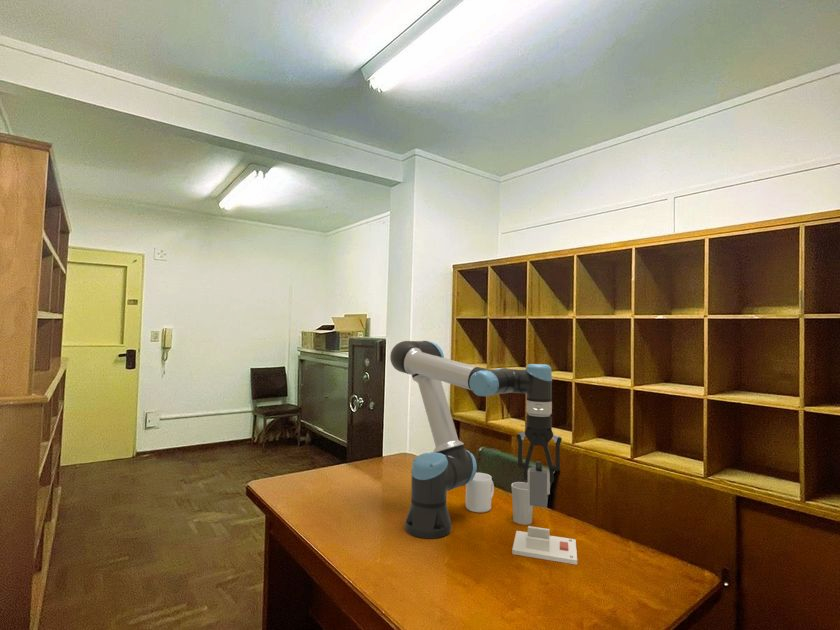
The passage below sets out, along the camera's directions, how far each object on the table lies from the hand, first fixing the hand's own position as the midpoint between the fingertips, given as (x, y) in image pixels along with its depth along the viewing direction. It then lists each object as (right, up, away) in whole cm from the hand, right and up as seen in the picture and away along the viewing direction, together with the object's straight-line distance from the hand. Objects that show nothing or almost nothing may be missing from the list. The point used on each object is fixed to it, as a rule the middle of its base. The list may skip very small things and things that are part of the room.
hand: (538, 491), depth 136 cm
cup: (0, -18, +19) cm, 26 cm away
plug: (0, -3, 0) cm, 4 cm away
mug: (-14, -18, +31) cm, 38 cm away
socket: (+2, -17, -1) cm, 17 cm away
